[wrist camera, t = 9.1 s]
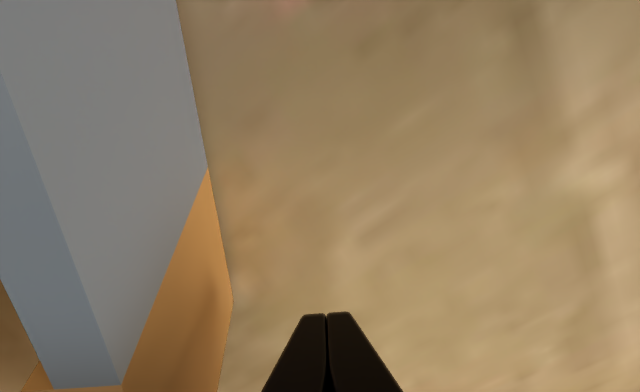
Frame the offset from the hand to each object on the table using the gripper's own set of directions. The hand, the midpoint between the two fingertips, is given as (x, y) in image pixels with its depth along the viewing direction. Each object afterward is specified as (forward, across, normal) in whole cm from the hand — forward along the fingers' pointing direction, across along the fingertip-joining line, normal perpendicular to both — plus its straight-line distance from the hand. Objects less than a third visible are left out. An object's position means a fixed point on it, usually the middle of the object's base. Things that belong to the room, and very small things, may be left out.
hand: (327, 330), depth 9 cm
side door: (+4, +3, -9) cm, 10 cm away
